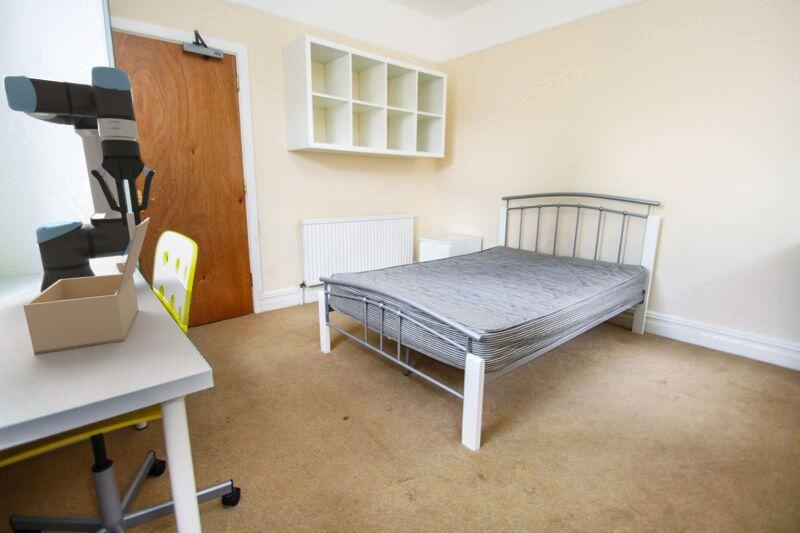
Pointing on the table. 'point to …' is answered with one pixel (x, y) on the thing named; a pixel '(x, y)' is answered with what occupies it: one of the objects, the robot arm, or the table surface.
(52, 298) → the carton
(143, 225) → the carton lid
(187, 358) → the table surface
